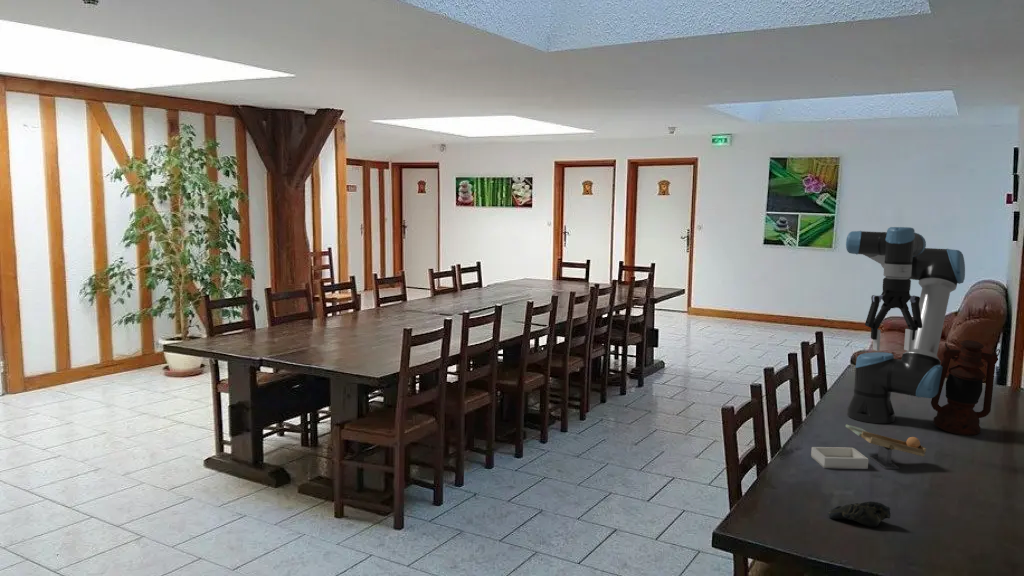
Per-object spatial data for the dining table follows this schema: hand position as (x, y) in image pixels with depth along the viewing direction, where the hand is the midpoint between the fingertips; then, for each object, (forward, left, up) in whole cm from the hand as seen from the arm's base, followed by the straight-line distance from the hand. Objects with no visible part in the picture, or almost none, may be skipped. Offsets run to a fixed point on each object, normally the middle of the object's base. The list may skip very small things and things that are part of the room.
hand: (891, 350), depth 222 cm
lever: (+12, -7, -25) cm, 29 cm away
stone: (+55, -34, -31) cm, 72 cm away
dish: (+16, -21, -30) cm, 40 cm away
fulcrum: (+16, -8, -30) cm, 35 cm away
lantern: (-18, +33, -29) cm, 48 cm away
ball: (+16, 0, -24) cm, 29 cm away
